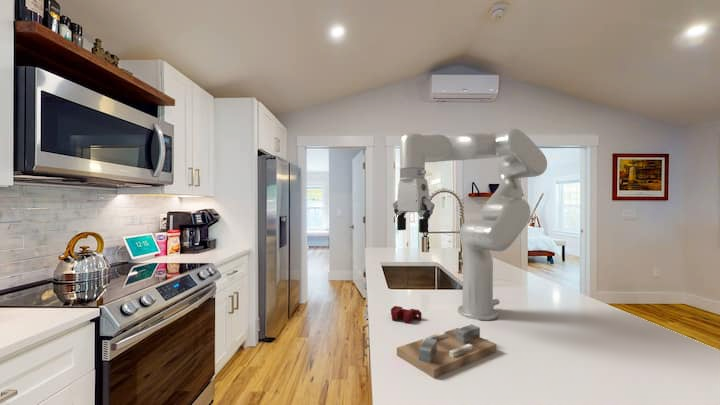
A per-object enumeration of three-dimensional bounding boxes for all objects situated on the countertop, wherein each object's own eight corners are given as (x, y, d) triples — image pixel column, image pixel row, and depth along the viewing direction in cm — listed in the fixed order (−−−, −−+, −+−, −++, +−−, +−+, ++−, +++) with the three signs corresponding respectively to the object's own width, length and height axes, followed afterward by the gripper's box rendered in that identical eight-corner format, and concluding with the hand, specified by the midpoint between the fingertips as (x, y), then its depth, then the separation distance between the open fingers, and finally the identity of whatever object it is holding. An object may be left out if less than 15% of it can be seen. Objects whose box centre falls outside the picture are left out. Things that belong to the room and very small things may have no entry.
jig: (457, 335, 88) (457, 318, 88) (496, 352, 78) (496, 333, 78) (396, 355, 76) (396, 337, 76) (433, 379, 66) (433, 357, 66)
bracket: (421, 310, 100) (392, 305, 105) (415, 315, 95) (385, 310, 100) (421, 319, 100) (392, 313, 105) (415, 325, 95) (385, 319, 100)
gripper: (442, 173, 91) (442, 232, 91) (402, 177, 106) (402, 228, 106) (423, 172, 87) (423, 234, 87) (385, 176, 101) (384, 229, 101)
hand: (412, 231), depth 96 cm, fingers open, 9 cm apart
